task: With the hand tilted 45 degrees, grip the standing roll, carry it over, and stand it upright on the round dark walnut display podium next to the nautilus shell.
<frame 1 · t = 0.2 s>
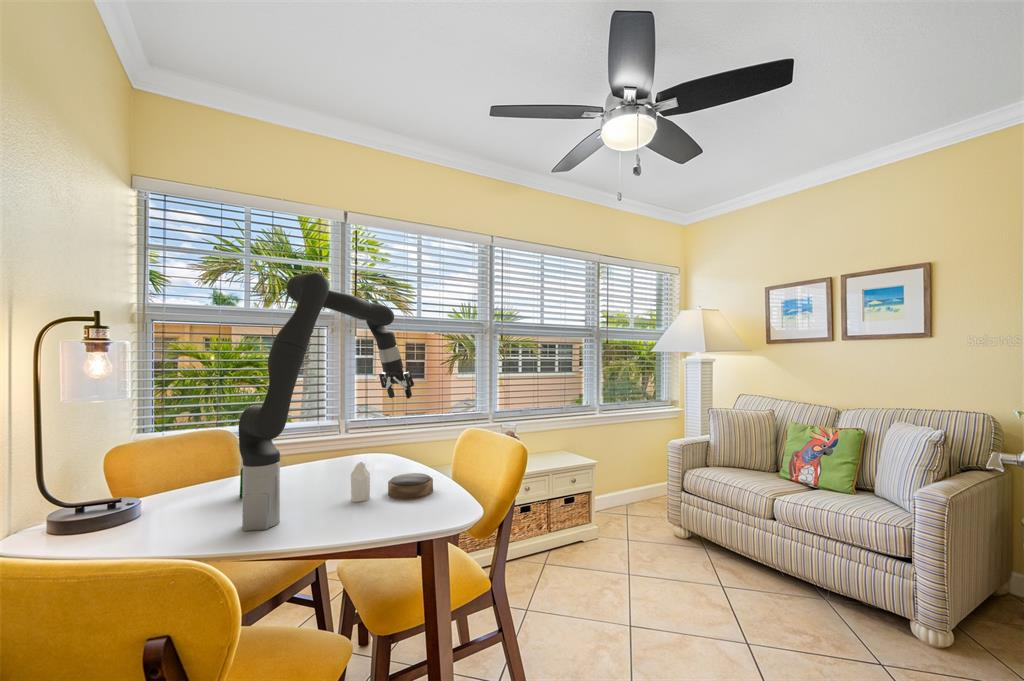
hand: (400, 397, 177), 31 cm above the table, tool tilted 20°, fingers open, 8 cm apart
podium: (410, 492, 156), on the table
milk carton: (256, 495, 155), on the table
roll: (360, 499, 150), on the table
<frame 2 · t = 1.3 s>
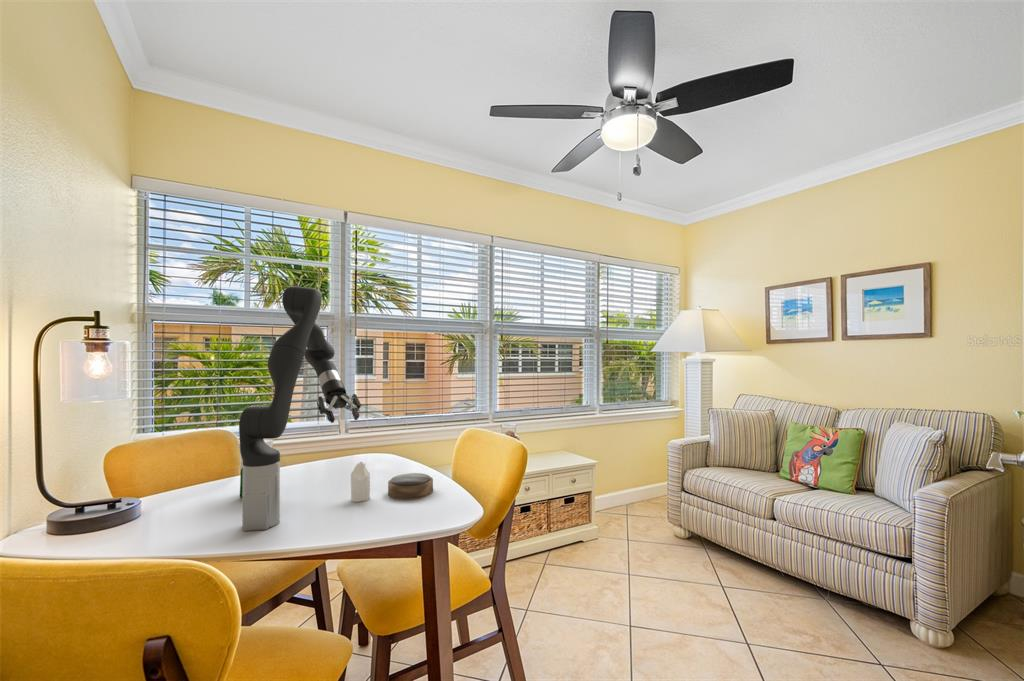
hand: (345, 420, 159), 25 cm above the table, tool tilted 45°, fingers open, 8 cm apart
nothing on the table moved.
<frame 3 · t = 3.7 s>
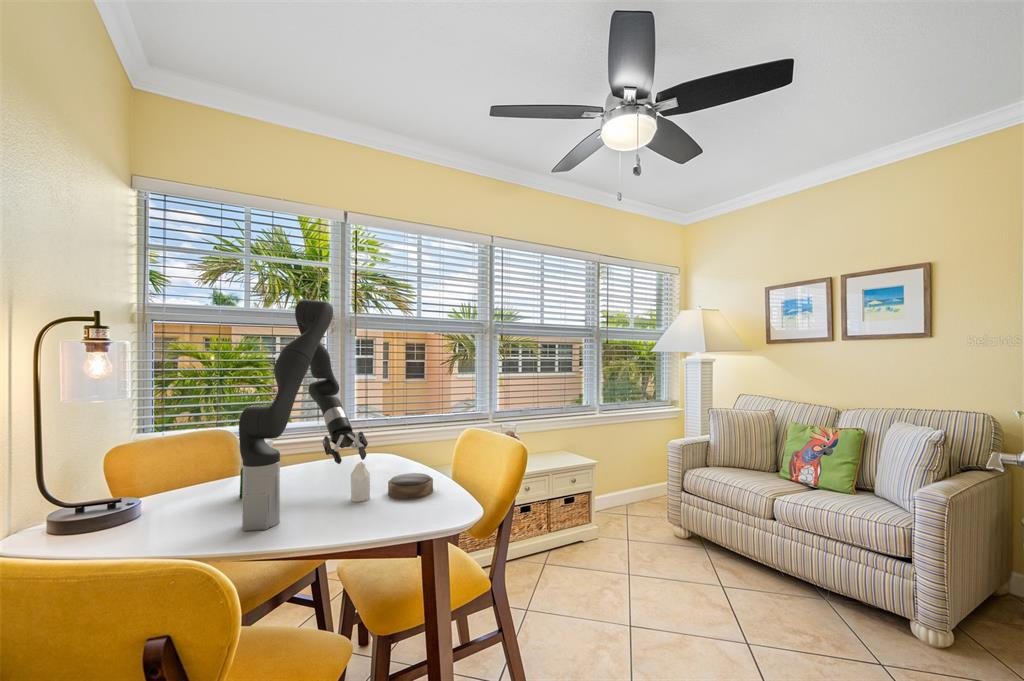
hand: (352, 460, 154), 12 cm above the table, tool tilted 45°, fingers open, 8 cm apart
nothing on the table moved.
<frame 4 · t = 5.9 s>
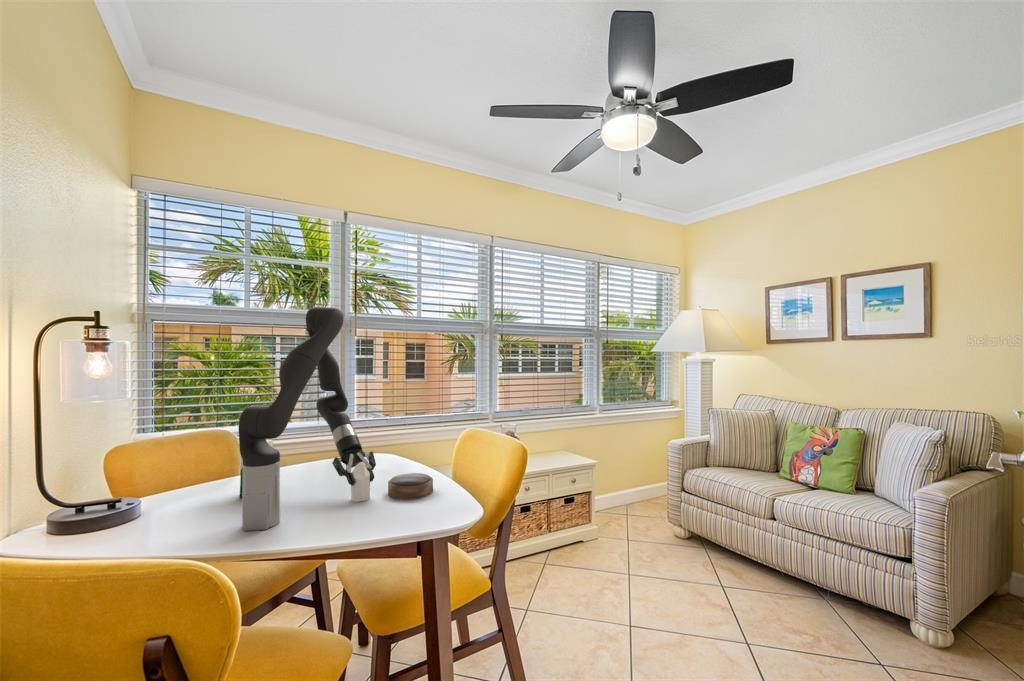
hand: (362, 482, 149), 6 cm above the table, tool tilted 45°, fingers closed on roll, 5 cm apart
roll: (360, 499, 150), on the table, touching gripper
everything else where it was.
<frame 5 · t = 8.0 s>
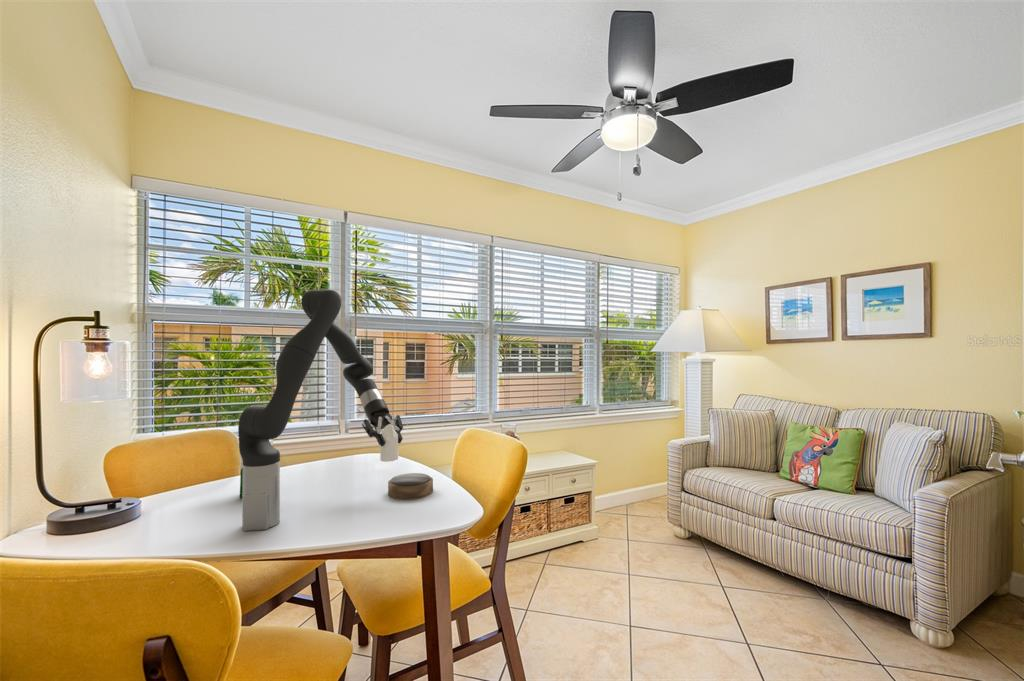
hand: (392, 443, 154), 17 cm above the table, tool tilted 45°, fingers closed on roll, 5 cm apart
roll: (389, 460, 155), point 11 cm above the table, touching gripper
everything else where it was.
when the fingers open (12 cm above the table, at t = 10.2 s): roll drops 1 cm, resting on podium.
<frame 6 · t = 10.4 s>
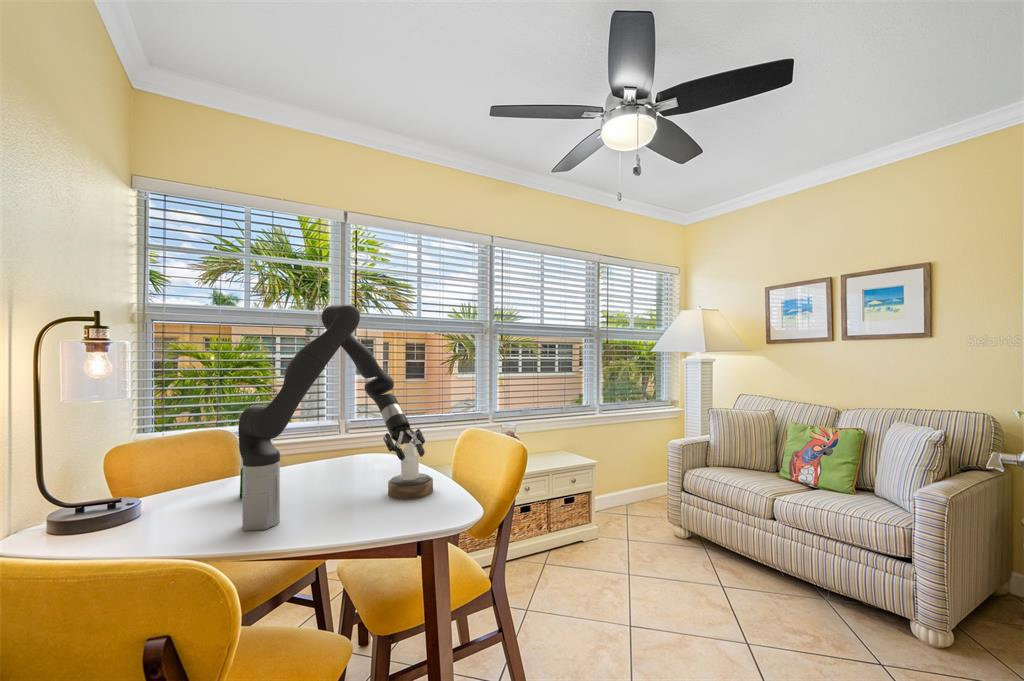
hand: (413, 457, 156), 12 cm above the table, tool tilted 45°, fingers open, 7 cm apart
roll: (409, 478, 157), point 5 cm above the table, touching podium
everything else where it was.
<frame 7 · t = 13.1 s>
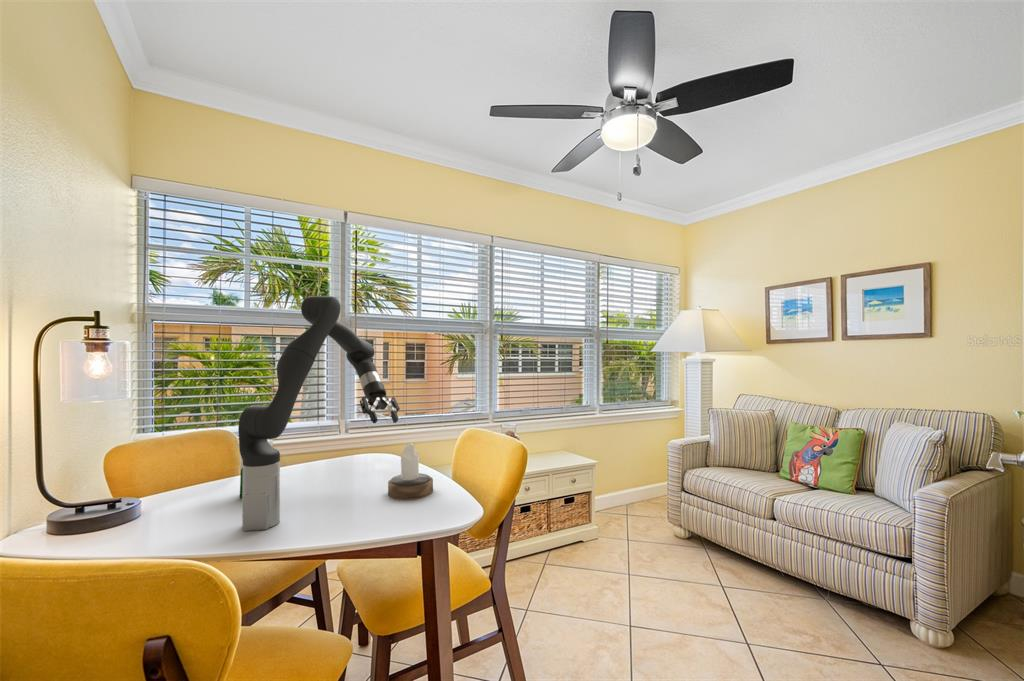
hand: (386, 421, 164), 23 cm above the table, tool tilted 40°, fingers open, 8 cm apart
nothing on the table moved.
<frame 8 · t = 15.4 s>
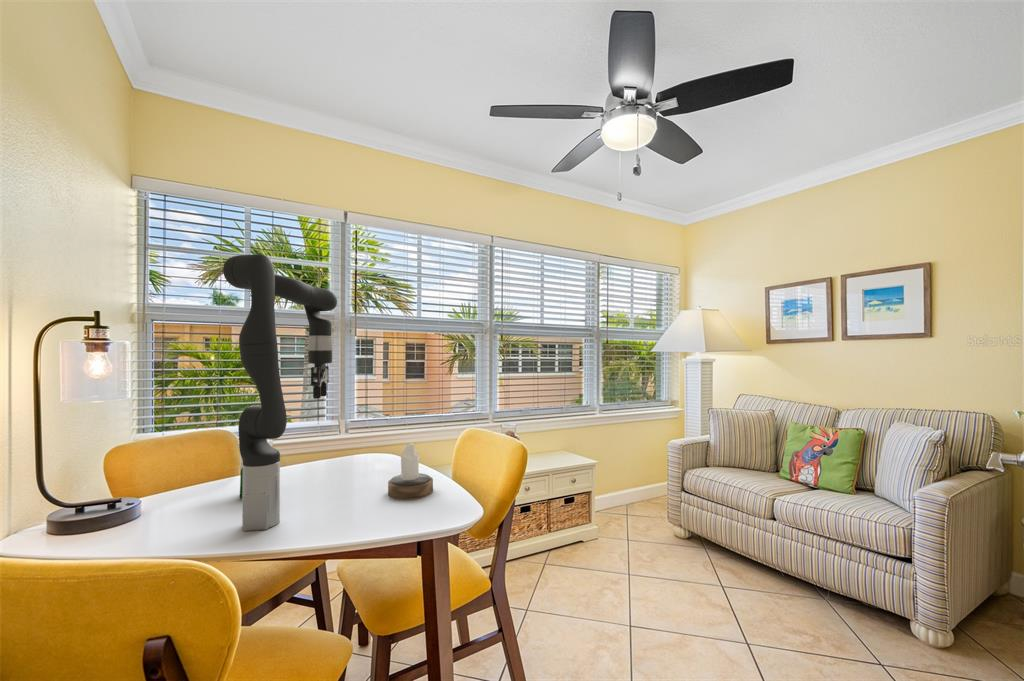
hand: (320, 397, 154), 33 cm above the table, tool pointing down, fingers open, 8 cm apart
nothing on the table moved.
at the end: roll inside the target area on the podium (0.3 cm from its centre), point 4.6 cm above the podium's base; roll tilted 1°; the gripper is holding nothing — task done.
